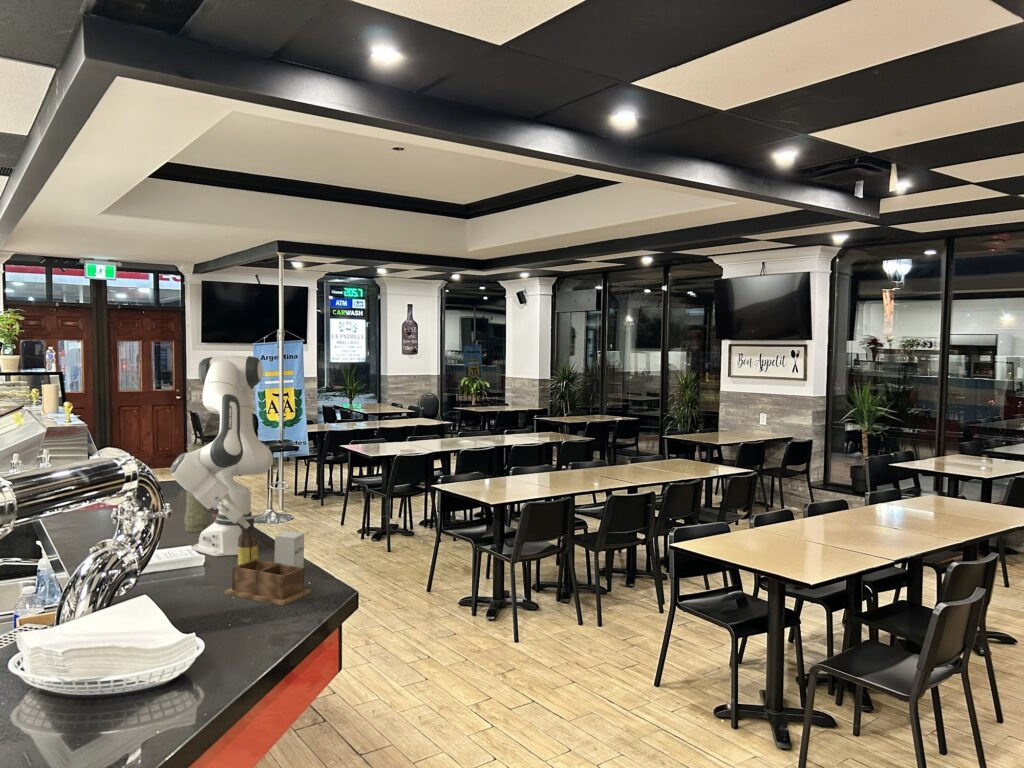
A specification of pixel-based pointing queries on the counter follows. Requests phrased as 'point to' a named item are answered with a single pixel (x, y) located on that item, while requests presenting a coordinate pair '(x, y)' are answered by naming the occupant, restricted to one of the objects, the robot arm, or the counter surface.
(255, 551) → the sauce bottle
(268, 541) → the counter surface
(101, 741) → the counter surface
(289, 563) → the supplement box
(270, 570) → the condiment caddy
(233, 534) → the robot arm
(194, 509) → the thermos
